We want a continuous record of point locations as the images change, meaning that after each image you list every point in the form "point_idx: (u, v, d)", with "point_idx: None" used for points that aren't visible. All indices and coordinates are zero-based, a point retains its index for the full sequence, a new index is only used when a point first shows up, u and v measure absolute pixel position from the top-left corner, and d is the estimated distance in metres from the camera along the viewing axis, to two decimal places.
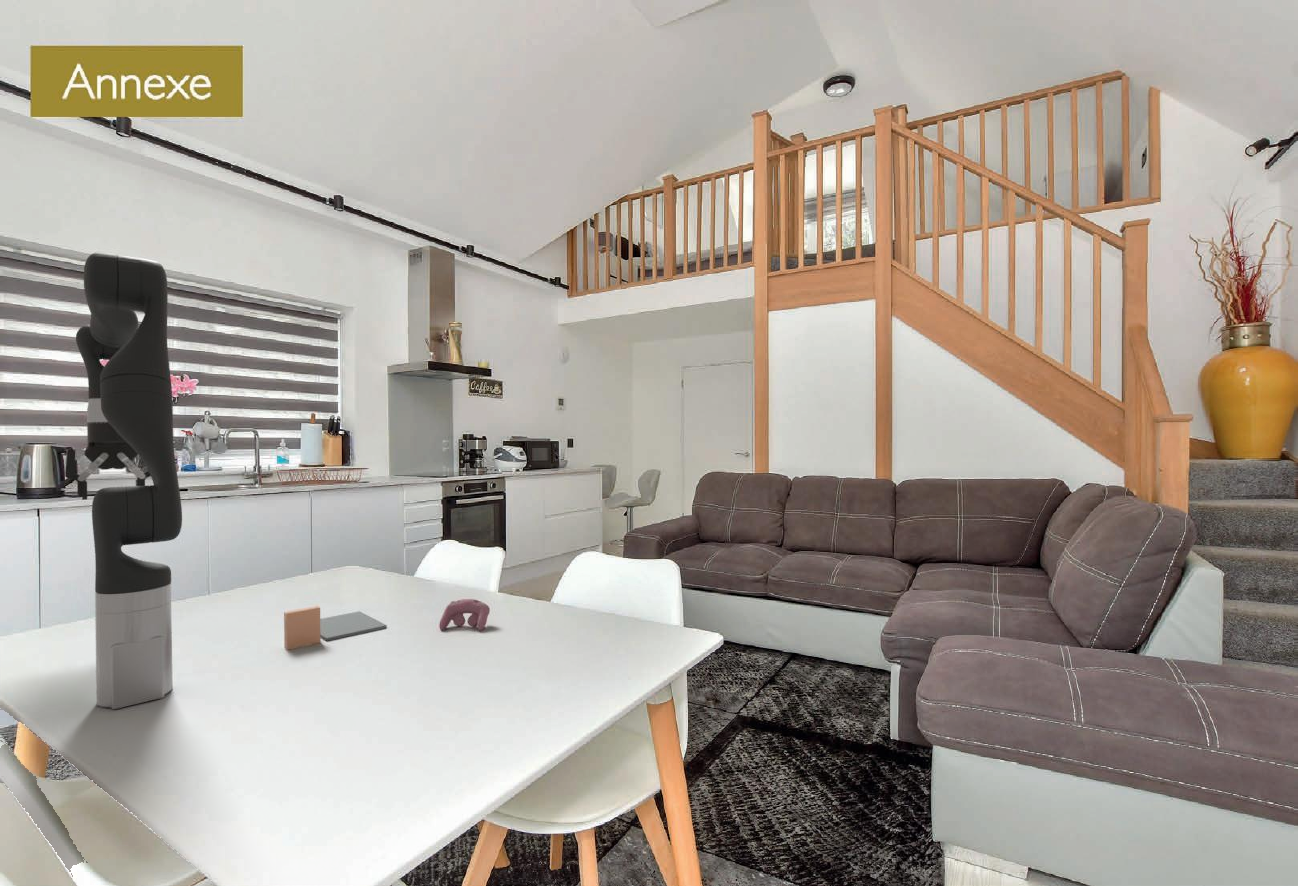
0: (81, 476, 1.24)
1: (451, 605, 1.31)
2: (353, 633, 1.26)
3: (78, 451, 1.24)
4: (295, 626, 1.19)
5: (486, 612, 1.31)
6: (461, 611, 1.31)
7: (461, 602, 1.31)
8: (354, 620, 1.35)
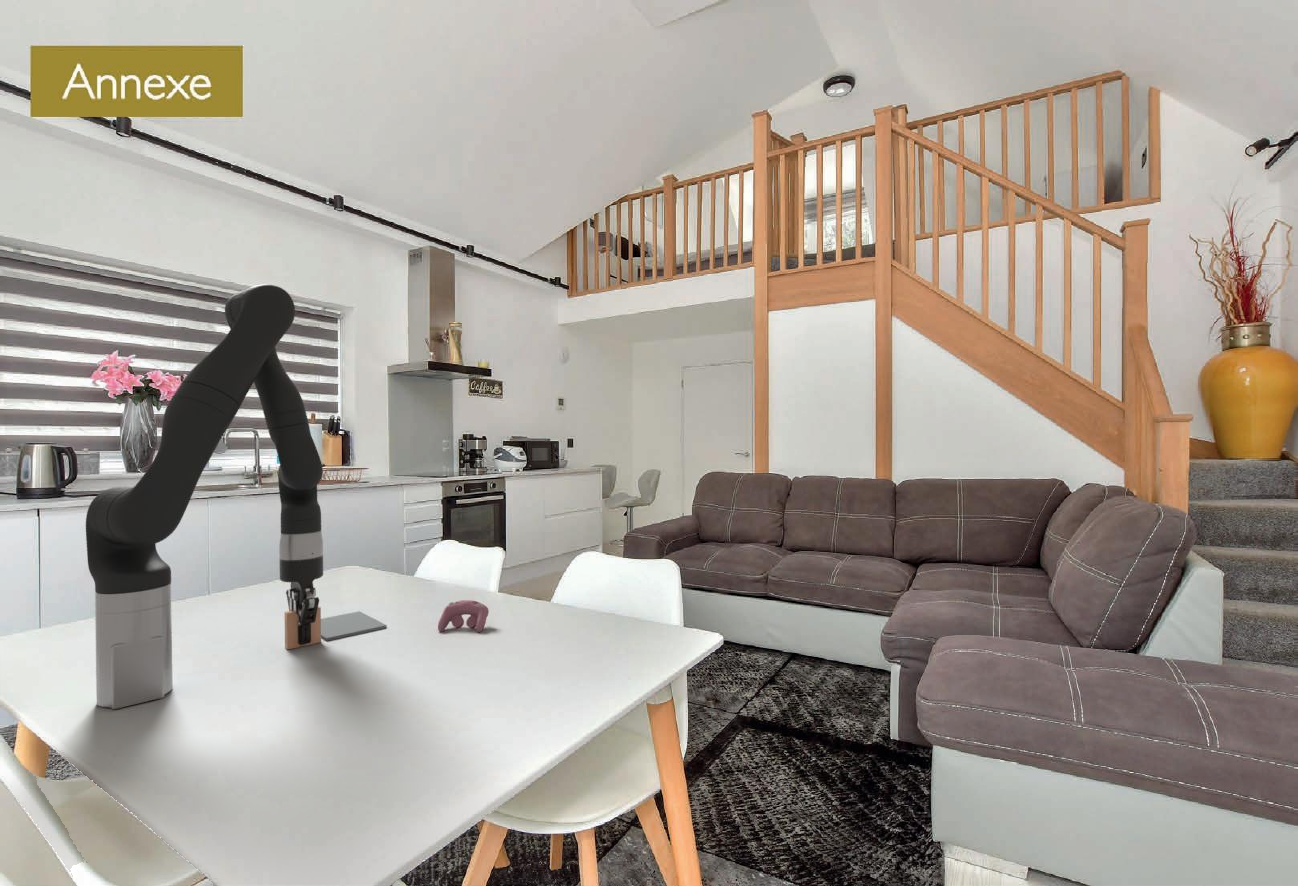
0: None
1: (450, 606, 1.30)
2: (353, 633, 1.26)
3: None
4: (296, 626, 1.19)
5: (485, 613, 1.30)
6: (460, 612, 1.30)
7: (460, 603, 1.30)
8: (354, 620, 1.35)
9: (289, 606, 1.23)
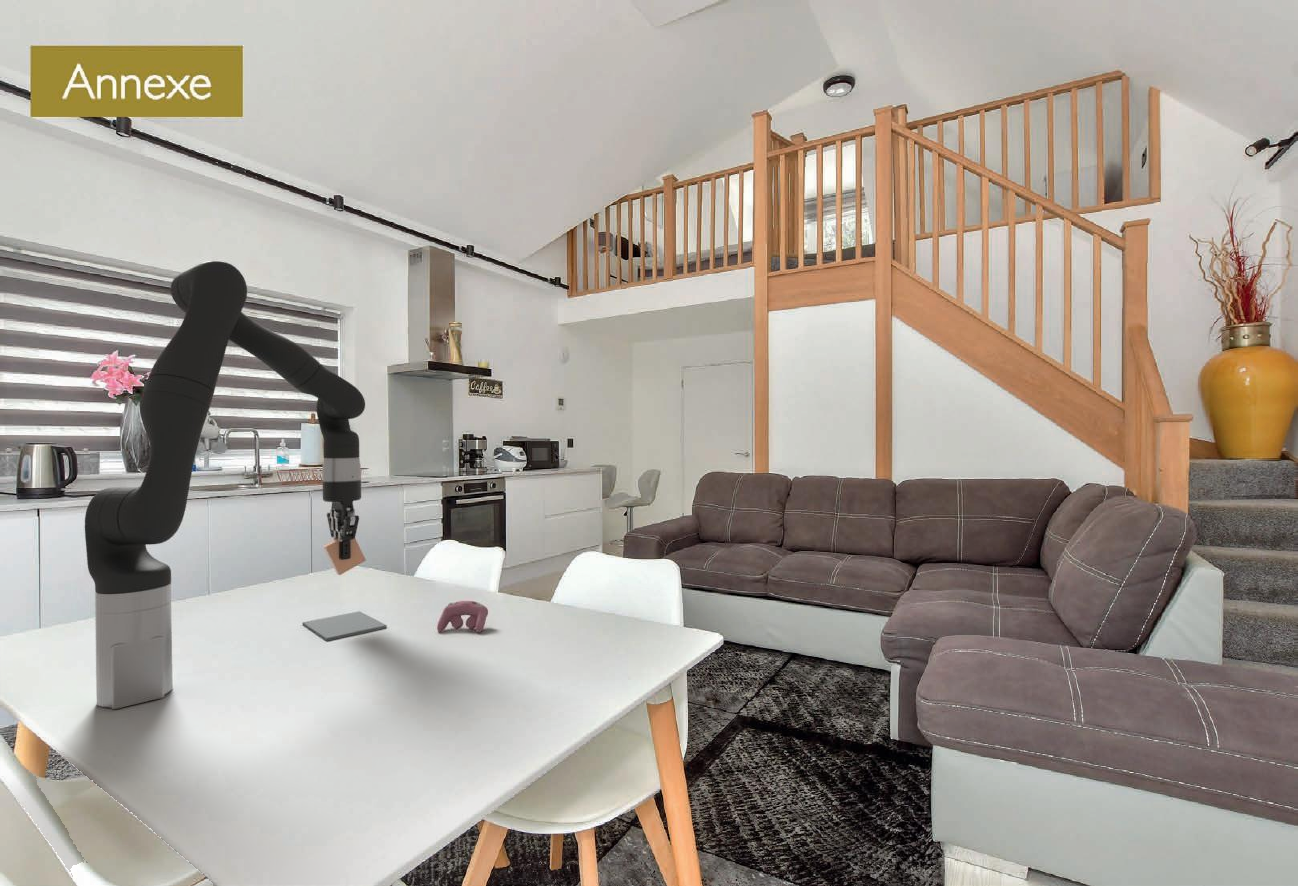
0: None
1: (449, 607, 1.30)
2: (353, 633, 1.26)
3: None
4: (338, 554, 1.31)
5: (484, 614, 1.29)
6: (459, 613, 1.30)
7: (459, 604, 1.30)
8: (354, 620, 1.35)
9: (330, 527, 1.35)
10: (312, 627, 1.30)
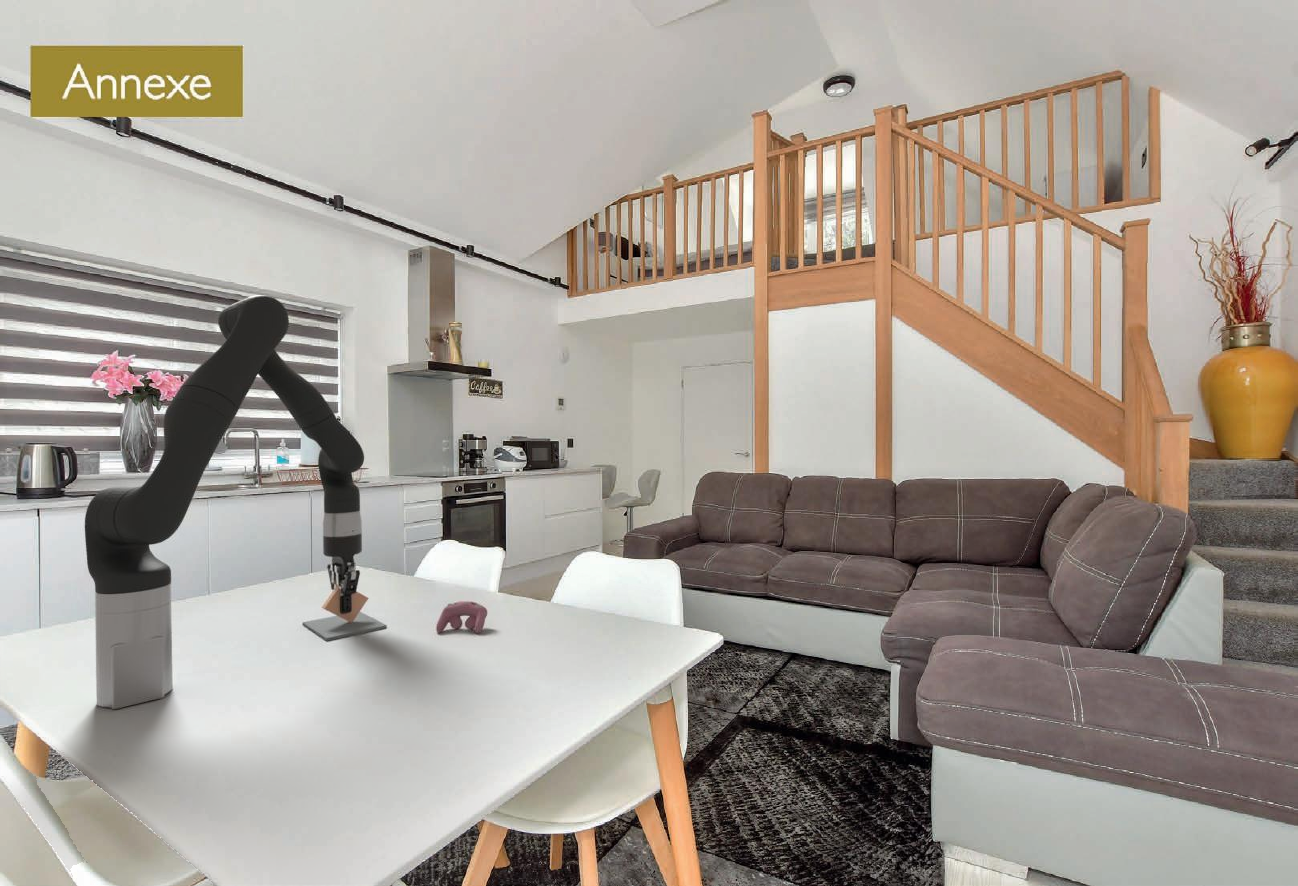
0: None
1: (448, 607, 1.29)
2: (353, 633, 1.26)
3: None
4: (339, 608, 1.31)
5: (484, 614, 1.29)
6: (458, 613, 1.29)
7: (458, 604, 1.29)
8: (354, 620, 1.35)
9: (330, 579, 1.35)
10: (312, 627, 1.30)
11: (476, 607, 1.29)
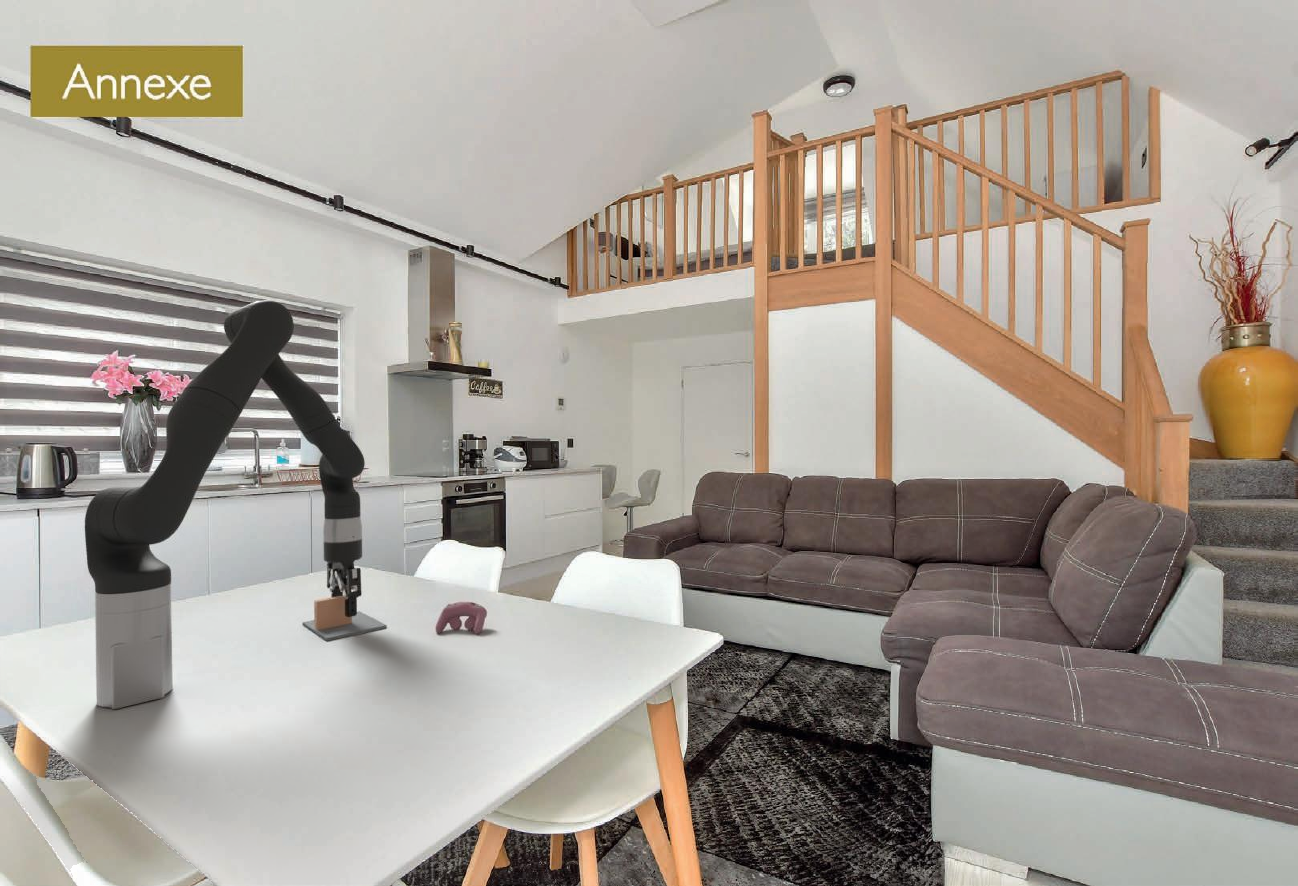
0: None
1: (447, 608, 1.29)
2: (353, 633, 1.26)
3: None
4: (331, 620, 1.30)
5: (483, 615, 1.28)
6: (458, 614, 1.29)
7: (457, 605, 1.29)
8: (354, 620, 1.35)
9: (328, 577, 1.36)
10: (312, 627, 1.30)
11: (476, 608, 1.29)
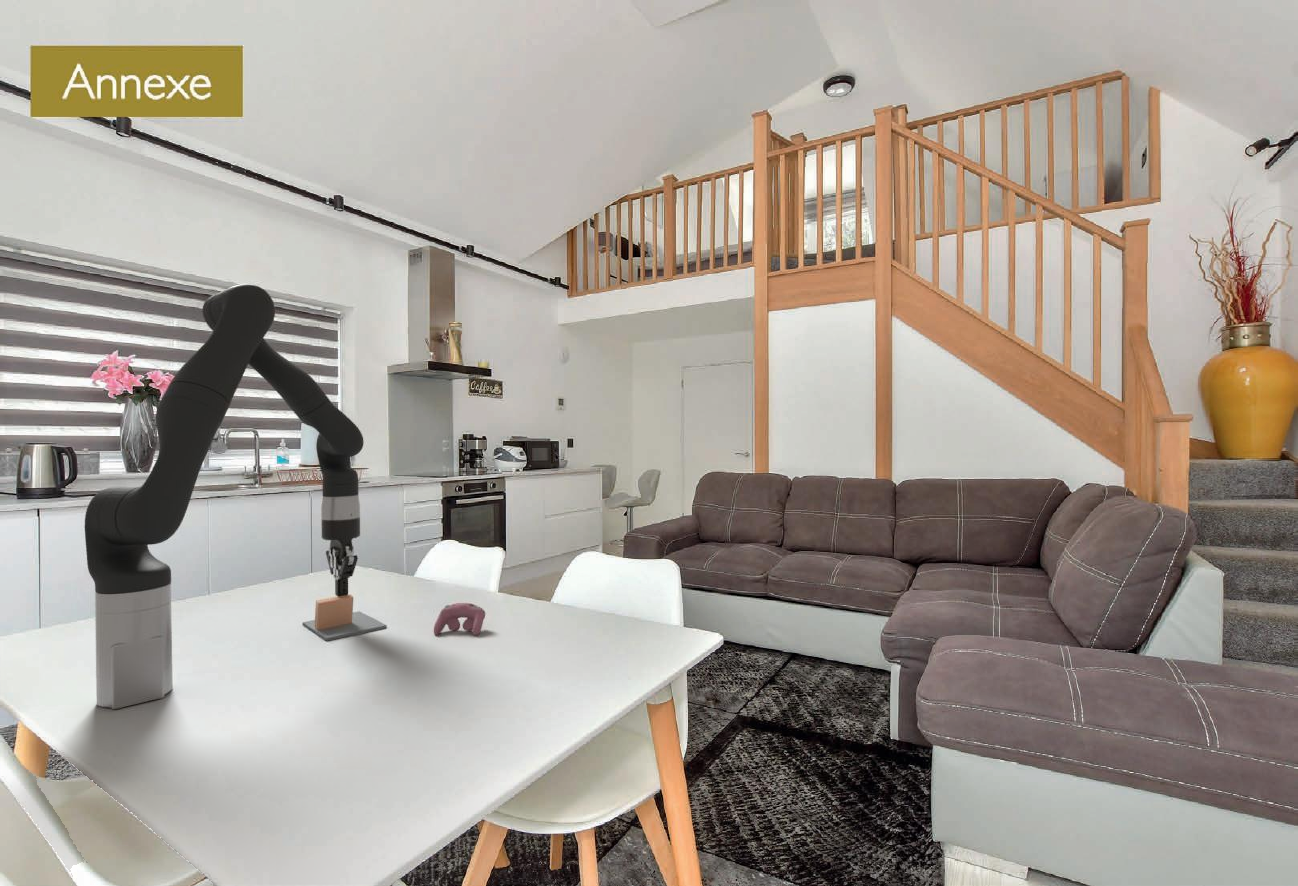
0: None
1: (446, 609, 1.28)
2: (353, 633, 1.26)
3: None
4: (331, 620, 1.30)
5: (482, 616, 1.27)
6: (456, 615, 1.28)
7: (456, 606, 1.28)
8: (354, 620, 1.35)
9: (329, 564, 1.35)
10: (312, 627, 1.30)
11: (474, 609, 1.28)
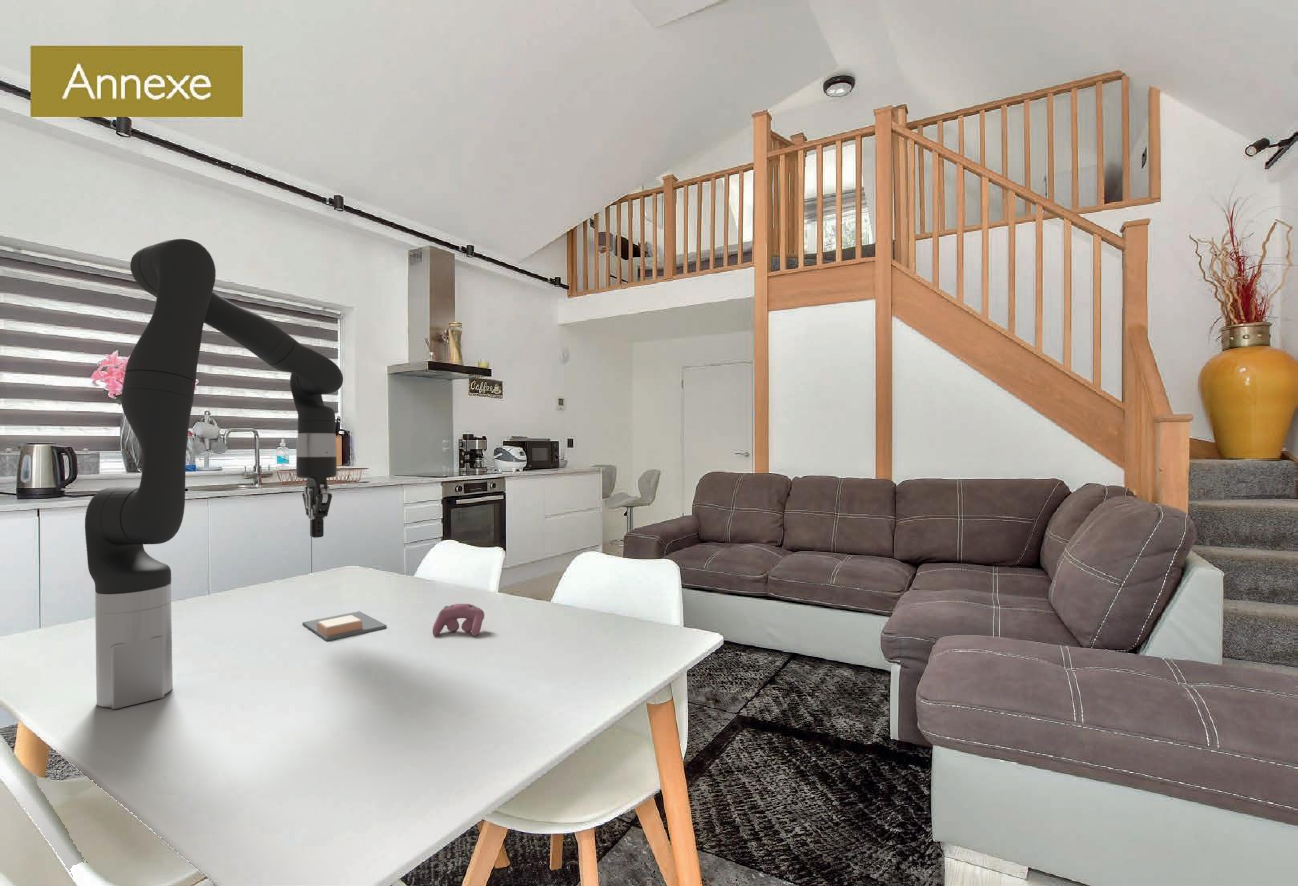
0: None
1: (444, 610, 1.27)
2: (353, 633, 1.26)
3: None
4: None
5: (481, 617, 1.27)
6: (455, 616, 1.27)
7: (455, 607, 1.27)
8: None
9: (305, 505, 1.31)
10: (312, 627, 1.30)
11: (473, 609, 1.27)
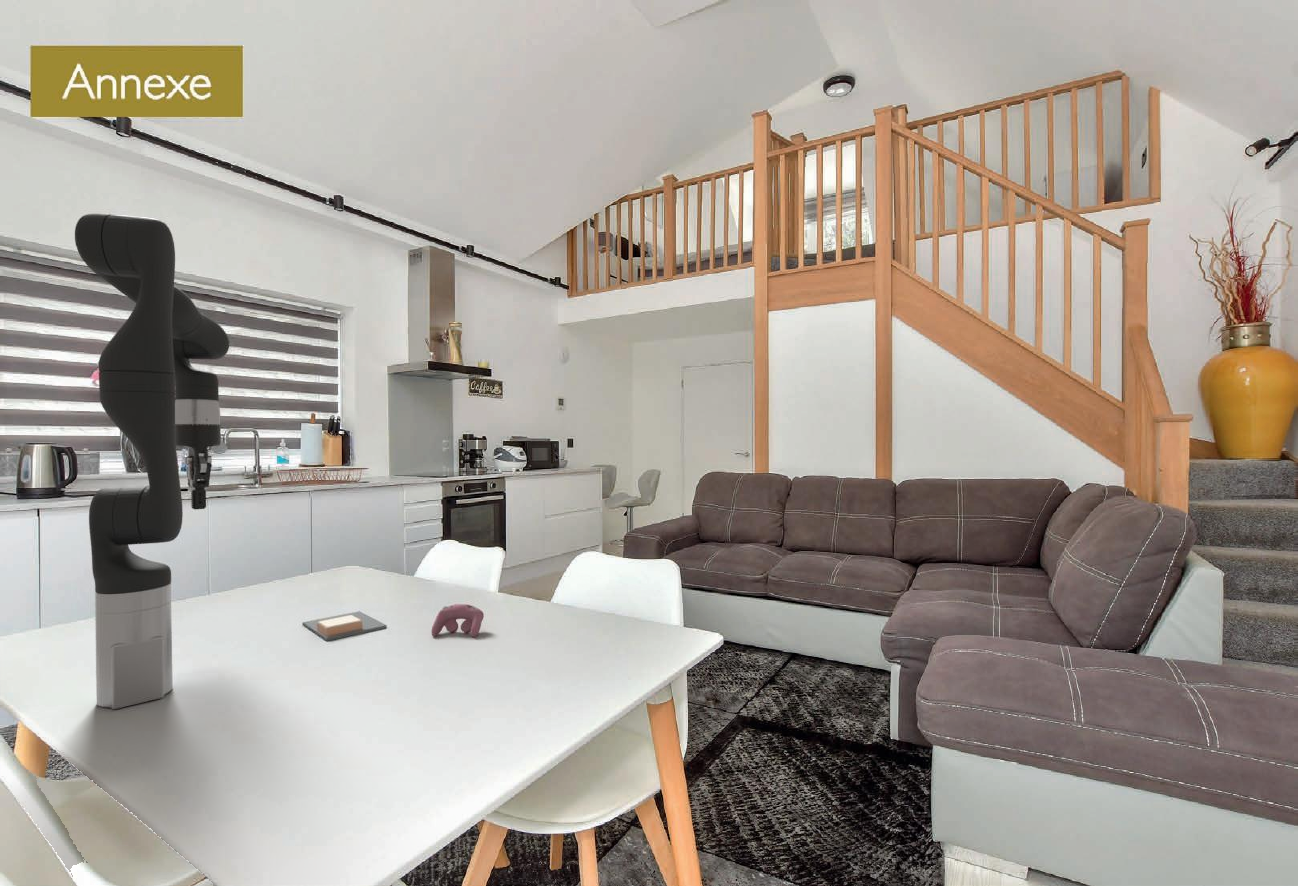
0: None
1: (444, 610, 1.27)
2: (353, 633, 1.26)
3: None
4: None
5: (480, 618, 1.26)
6: (454, 617, 1.27)
7: (454, 607, 1.27)
8: None
9: None
10: (312, 627, 1.30)
11: (472, 610, 1.27)
